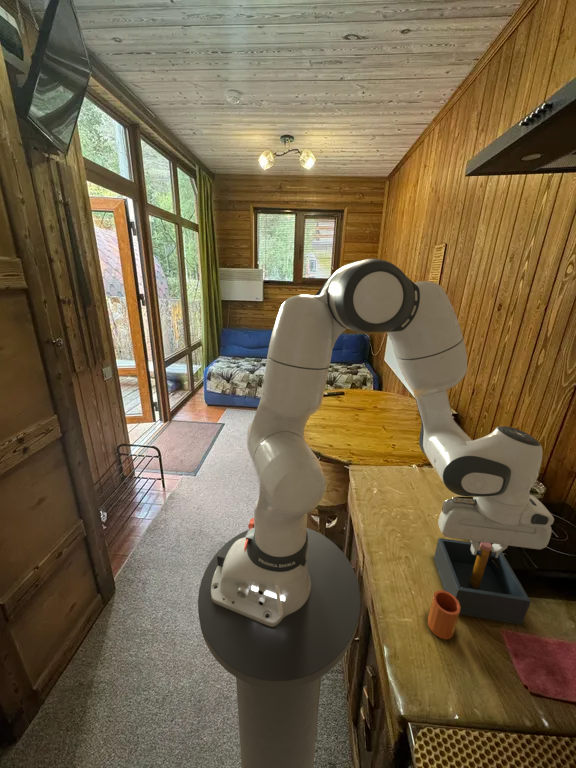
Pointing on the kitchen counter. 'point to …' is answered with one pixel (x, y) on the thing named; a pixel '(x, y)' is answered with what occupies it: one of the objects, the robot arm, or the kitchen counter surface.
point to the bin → (497, 588)
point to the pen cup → (443, 614)
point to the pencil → (480, 565)
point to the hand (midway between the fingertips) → (483, 554)
